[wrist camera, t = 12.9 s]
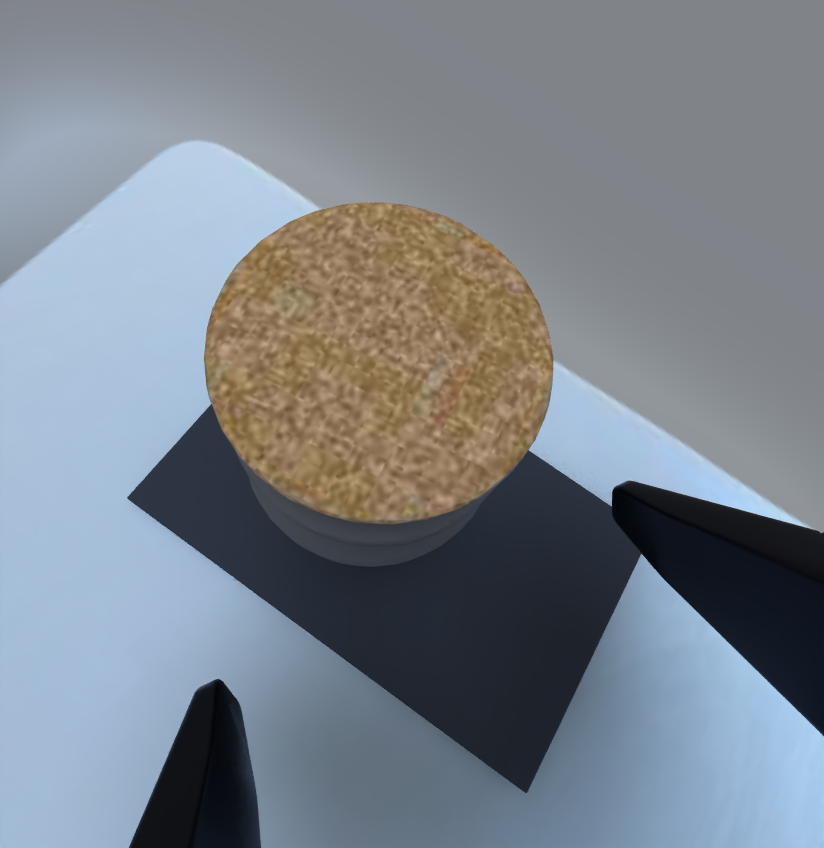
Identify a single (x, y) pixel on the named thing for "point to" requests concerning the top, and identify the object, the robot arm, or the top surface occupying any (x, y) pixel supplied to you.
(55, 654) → the top surface
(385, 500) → the cork-stoppered jar
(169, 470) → the desk mat
